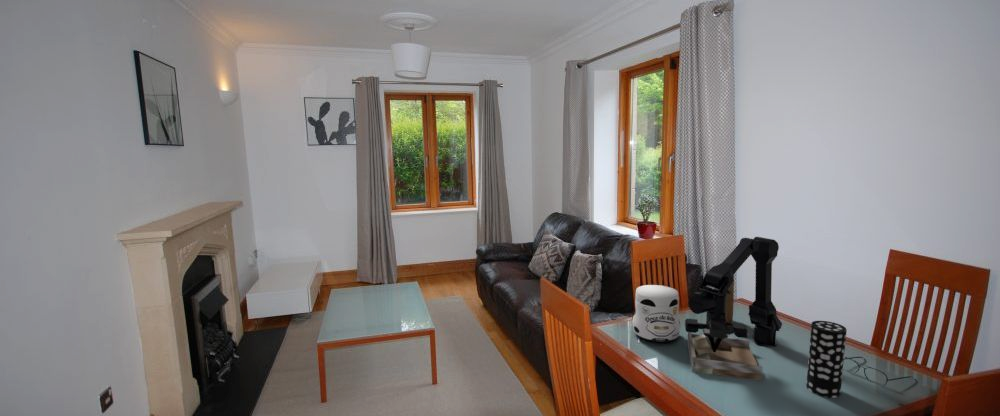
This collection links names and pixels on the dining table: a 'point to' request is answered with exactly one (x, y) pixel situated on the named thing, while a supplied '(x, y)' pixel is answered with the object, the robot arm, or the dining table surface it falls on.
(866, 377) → the glasses
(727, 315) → the block
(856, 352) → the dining table surface
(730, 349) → the shallow wooden tray
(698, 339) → the beech block
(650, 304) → the milk container
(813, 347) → the spotted tube
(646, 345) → the dining table surface
